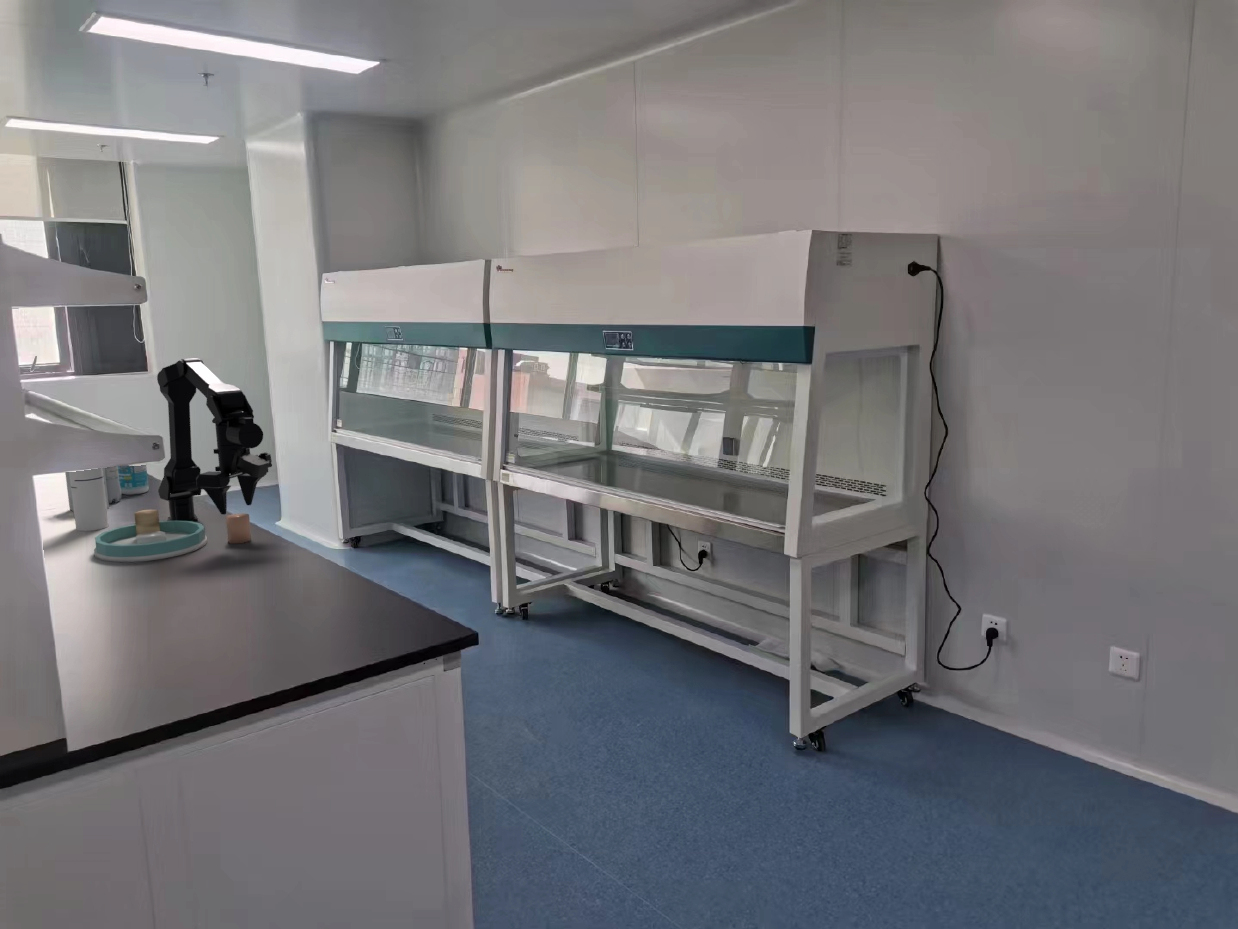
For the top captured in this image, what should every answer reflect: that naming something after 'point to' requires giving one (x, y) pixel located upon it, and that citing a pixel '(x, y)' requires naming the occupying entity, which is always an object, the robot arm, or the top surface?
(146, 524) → the wood cylinder
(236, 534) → the pinkish brown short cylinder
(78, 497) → the cylindrical container
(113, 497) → the bottle
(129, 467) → the pill bottle
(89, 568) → the top surface
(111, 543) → the groove tray
